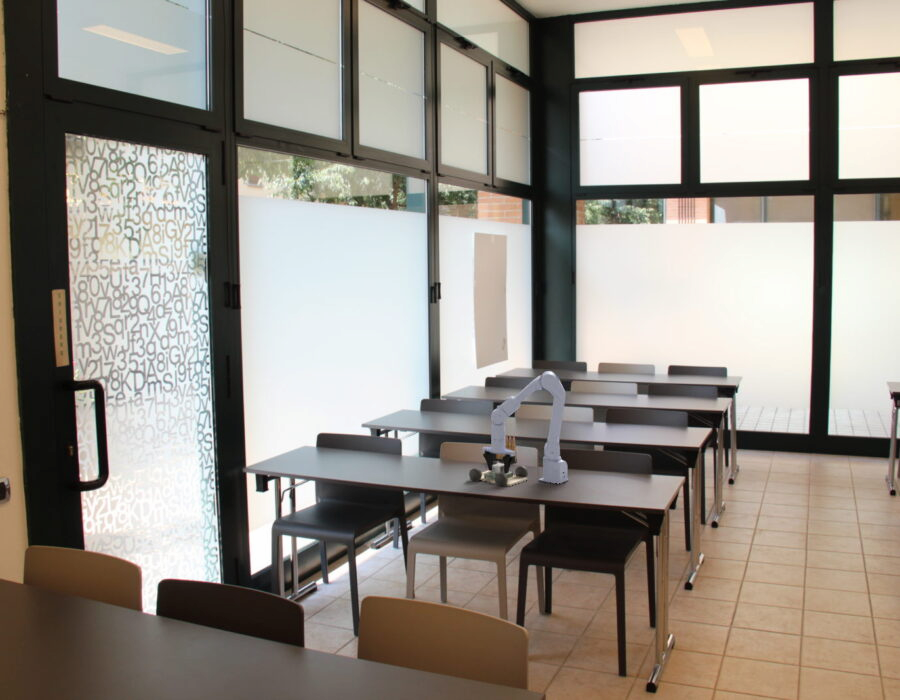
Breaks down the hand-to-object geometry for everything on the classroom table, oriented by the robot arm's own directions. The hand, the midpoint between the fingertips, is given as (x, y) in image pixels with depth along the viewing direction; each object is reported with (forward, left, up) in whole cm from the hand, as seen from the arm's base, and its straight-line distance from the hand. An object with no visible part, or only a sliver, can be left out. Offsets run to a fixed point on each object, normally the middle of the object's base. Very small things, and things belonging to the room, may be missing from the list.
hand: (498, 471), depth 347 cm
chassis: (0, 0, -3) cm, 3 cm away
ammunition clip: (+16, -26, -4) cm, 31 cm away
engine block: (0, -1, -2) cm, 2 cm away
